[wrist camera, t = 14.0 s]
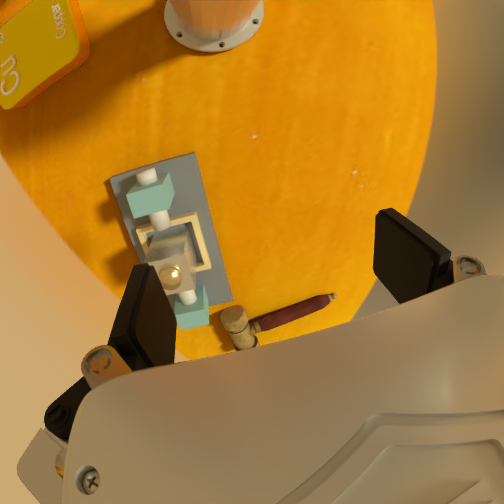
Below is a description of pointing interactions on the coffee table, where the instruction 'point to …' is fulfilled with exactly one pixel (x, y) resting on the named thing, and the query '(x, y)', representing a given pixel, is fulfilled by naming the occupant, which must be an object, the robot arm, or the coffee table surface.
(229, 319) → the gavel
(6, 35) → the element tile
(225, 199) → the coffee table surface
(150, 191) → the shaft stand
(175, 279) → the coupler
